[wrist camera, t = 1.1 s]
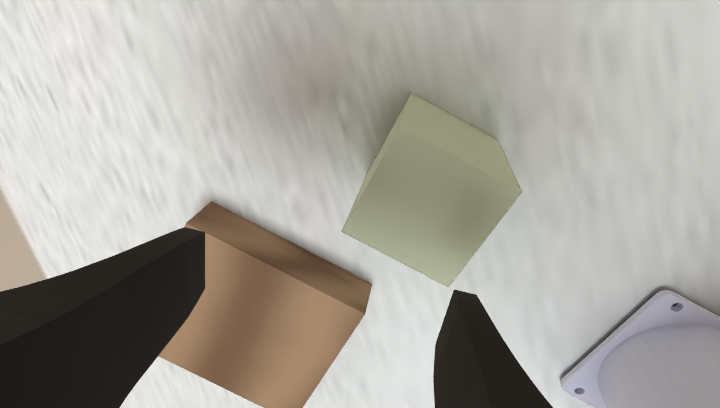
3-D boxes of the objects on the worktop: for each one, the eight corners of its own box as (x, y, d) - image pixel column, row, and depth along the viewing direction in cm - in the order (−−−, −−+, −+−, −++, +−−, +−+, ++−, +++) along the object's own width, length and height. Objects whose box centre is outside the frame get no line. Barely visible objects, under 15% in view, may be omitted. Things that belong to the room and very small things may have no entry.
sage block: (498, 140, 19) (522, 191, 13) (445, 216, 21) (448, 287, 15) (411, 92, 19) (400, 125, 13) (366, 174, 21) (341, 231, 15)
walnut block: (373, 279, 24) (365, 313, 21) (306, 382, 28) (292, 421, 25) (215, 198, 23) (186, 222, 20) (172, 316, 28) (144, 349, 25)
